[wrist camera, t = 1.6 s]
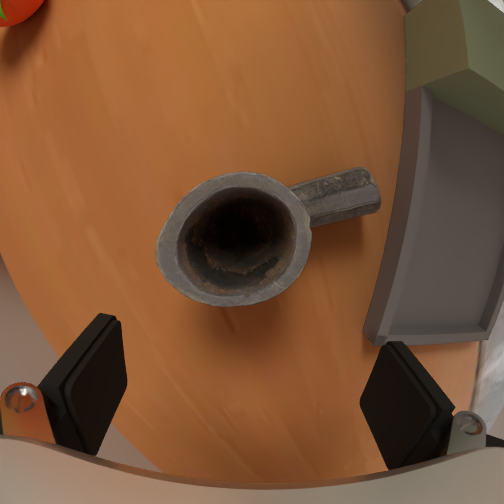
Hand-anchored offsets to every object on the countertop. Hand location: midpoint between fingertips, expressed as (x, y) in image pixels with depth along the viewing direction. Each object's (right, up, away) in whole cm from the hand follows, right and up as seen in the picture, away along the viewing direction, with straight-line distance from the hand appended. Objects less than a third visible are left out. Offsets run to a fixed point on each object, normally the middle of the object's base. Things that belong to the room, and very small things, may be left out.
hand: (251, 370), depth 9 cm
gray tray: (+19, +10, +11) cm, 24 cm away
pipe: (+1, +7, +11) cm, 13 cm away
